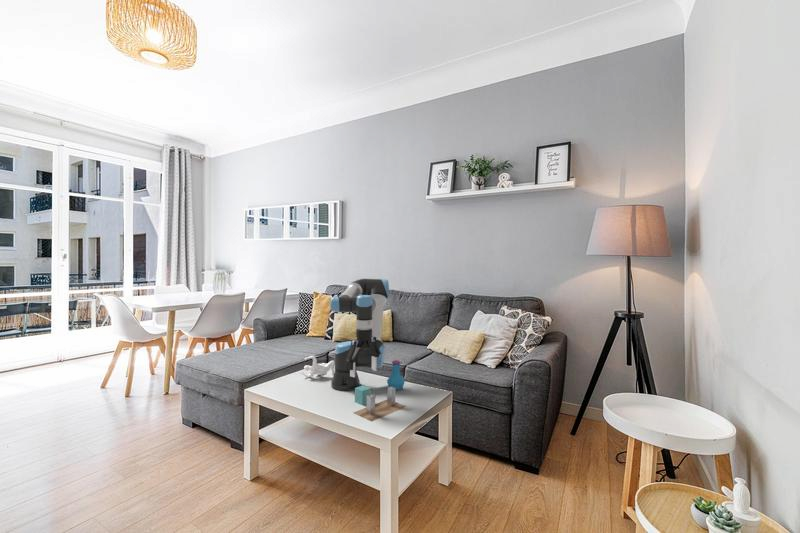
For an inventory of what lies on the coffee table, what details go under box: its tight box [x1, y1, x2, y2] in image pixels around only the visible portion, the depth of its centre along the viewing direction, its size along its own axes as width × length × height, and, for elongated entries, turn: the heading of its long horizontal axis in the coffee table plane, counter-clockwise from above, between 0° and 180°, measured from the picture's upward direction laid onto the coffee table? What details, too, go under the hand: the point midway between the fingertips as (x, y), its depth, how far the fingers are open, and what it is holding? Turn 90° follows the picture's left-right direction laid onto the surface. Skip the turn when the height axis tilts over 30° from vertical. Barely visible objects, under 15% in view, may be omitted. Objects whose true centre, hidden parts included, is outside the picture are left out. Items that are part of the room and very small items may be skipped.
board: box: [353, 399, 407, 422], centre depth 163 cm, size 12×22×1 cm, turn 138°
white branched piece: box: [300, 355, 335, 379], centre depth 209 cm, size 13×13×18 cm
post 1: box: [366, 393, 376, 415], centre depth 159 cm, size 3×3×8 cm
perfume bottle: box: [386, 359, 406, 391], centre depth 191 cm, size 9×9×15 cm
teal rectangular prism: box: [354, 385, 372, 406], centre depth 171 cm, size 5×5×8 cm
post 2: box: [386, 386, 397, 407], centre depth 168 cm, size 3×3×8 cm
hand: (363, 373), depth 171 cm, fingers open, 13 cm apart
